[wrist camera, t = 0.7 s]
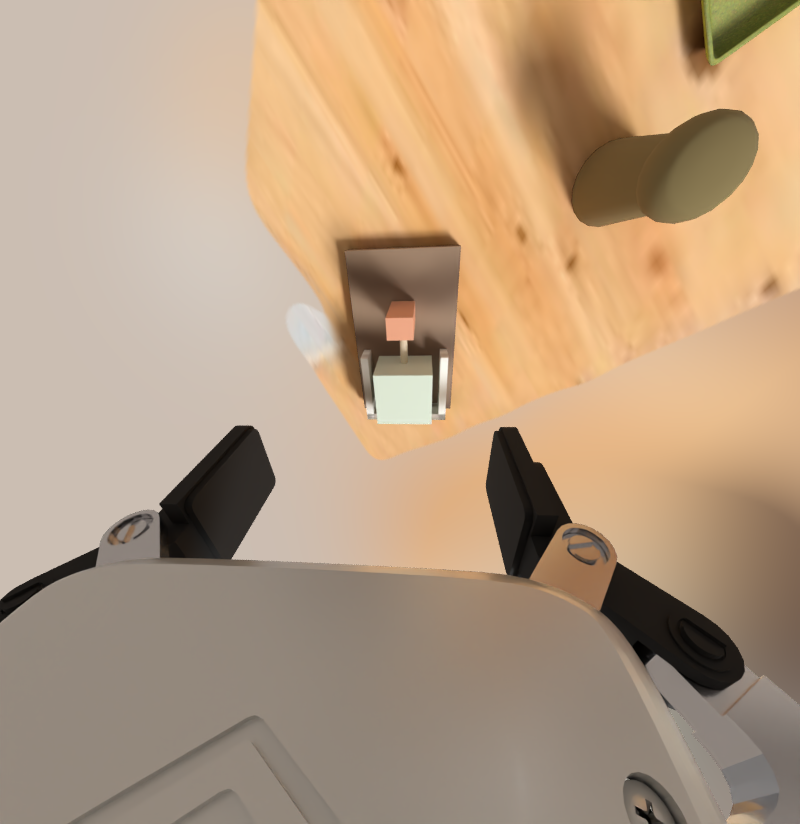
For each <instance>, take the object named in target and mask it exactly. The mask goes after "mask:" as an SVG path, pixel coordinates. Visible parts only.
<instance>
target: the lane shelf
mask: <svg viewBox="0 0 800 824" xmlns="http://www.w3.org/2000/svg"><path fill="white" fill-rule="evenodd" d="M460 252H461V246H460V245H445V246H421V247H396V248H372V249H348V250H346V251H345V257H346V265H347V273H348V281H349V288H350V296H351V304H352V312H353V319H354V327H355V335H356V343H357V350H358V358H359V366H360V374H361V381H362V389H363V397H364V405H365V408H367V416H368V419H377V411H376V401H375V392H374V382H373V374H374V371H375V368H376V364H377V361H378V358H379V356H400V340H399V341H387V335H386V321H385V318H386V315H387V313H388V310H389V307H390V305H391V302H392V301H415V330H414V340H407V345H408V356H428V355H432V373H433V380H432V420H445V410H446V408H450V403H451V388H452V373H453V358H454V342H455V327H456V312H457V297H458V282H459V267H460Z"/></svg>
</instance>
